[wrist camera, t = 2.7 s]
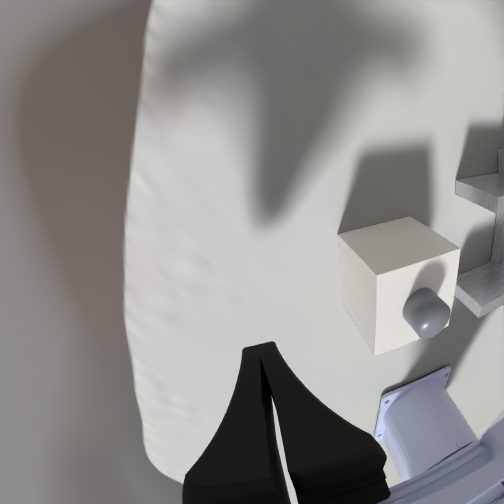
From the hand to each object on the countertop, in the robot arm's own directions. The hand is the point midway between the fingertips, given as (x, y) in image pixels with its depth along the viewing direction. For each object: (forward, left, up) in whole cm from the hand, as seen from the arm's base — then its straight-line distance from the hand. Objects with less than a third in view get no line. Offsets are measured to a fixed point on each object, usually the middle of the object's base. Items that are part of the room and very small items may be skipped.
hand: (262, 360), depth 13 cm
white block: (0, -8, -6) cm, 10 cm away
